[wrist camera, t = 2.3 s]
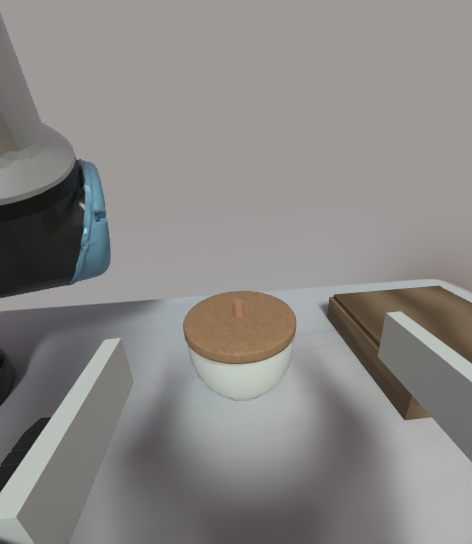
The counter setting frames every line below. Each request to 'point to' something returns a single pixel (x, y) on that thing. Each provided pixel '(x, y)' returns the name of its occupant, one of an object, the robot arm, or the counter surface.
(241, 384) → the lidded jar
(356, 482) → the counter surface
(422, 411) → the walnut stand
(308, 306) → the counter surface
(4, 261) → the robot arm
